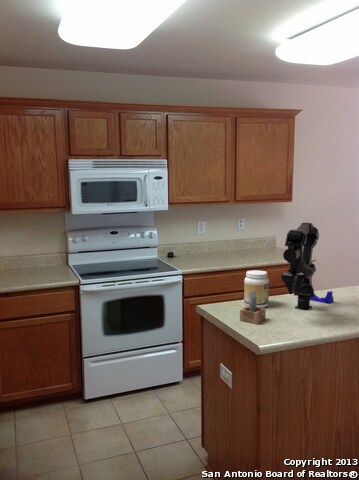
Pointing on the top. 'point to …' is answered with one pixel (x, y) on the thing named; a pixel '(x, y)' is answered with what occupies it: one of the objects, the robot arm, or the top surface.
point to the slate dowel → (252, 301)
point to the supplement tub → (257, 287)
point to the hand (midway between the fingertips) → (295, 291)
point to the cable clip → (327, 299)
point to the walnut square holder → (252, 315)
